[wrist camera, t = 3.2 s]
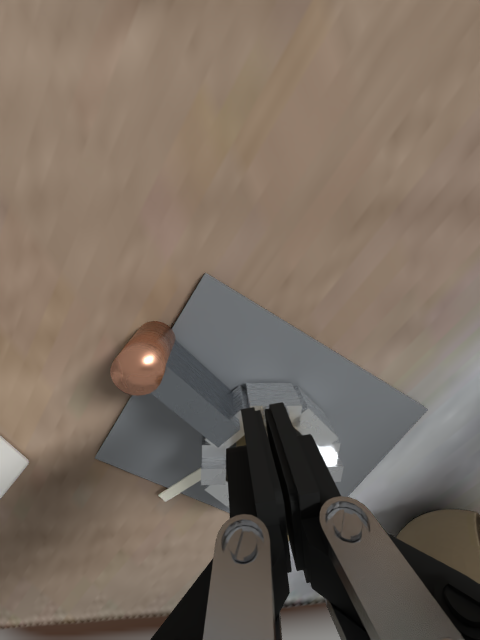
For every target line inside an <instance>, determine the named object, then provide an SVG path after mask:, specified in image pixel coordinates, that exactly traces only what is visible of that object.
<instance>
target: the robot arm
mask: <svg viewBox="0 0 480 640" xmlns="http://www.w3.org/2000/svg"><path fill="white" fill-rule="evenodd" d="M241 415H242V421H243V428H244V434H245V441H246V445H244V446H238V447H232V448H227V449H226V460H227V477H228V494H229V511H230V519H229V520H227V521H226V522H225V523H224V524H223V525H222V527H221V529H220V530H219V532H218V534H217V538H216V542H215V550H214V557H213V559H212V560H211V562H210V563H209V564H208V566H207V567H206V568H205V570H204V571H203V572H202V573H201V575H200V576H199V577H198V579H197V580H196V581H195V583H194V584H193V585H192V586H191V588H190V589H189V590H188V592H187V593H186V594H185V596H184V597H183V598H182V599H181V601H180V602H179V603H178V605H177V606H176V607H175V609H174V610H173V611H172V612H171V614H170V615H169V616H168V618H167V619H166V620H165V622H164V623H163V624H162V625H161V627H160V628H159V629H158V631H157V632H156V633H155V634H154V636H153V637H152V638H151V640H282V633H281V616H280V610H281V608H282V606H283V604H284V602H285V600H286V599H287V597H288V595H289V593H290V592H289V584H288V575H287V573H289V572H292V570H291V561H290V552H289V543H288V537H289V541H290V545H291V549H292V553H293V557H294V562H295V566H296V569H297V571H299V570H304V574H305V578H306V582H307V583H311V586H312V589H314V590H315V591H316V592H318V593H319V594H320V595H322V596H323V597H324V598H325V602H326V605H327V608H328V610H329V612H330V615H331V617H332V620H333V622H334V624H335V626H336V629H337V631H338V634H339V636H340V638H341V640H480V584H479V583H477V582H476V581H474V580H473V579H471V578H470V577H468V576H466V575H464V574H463V573H461V572H459V571H457V570H455V569H453V568H451V567H449V566H448V565H446V564H444V563H442V562H440V561H438V560H436V559H435V558H433V557H431V556H429V555H427V554H425V553H423V552H421V551H420V550H418V549H416V548H414V547H412V546H410V545H408V544H406V543H405V542H403V541H401V540H399V539H397V538H395V537H393V536H392V535H390V534H388V533H386V532H385V531H384V529H383V528H382V527H381V525H380V524H379V522H378V521H377V520H376V518H375V517H374V516H373V514H372V513H371V512H370V511H369V510H368V508H367V507H366V506H365V505H363V504H362V503H360V502H359V501H357V500H355V499H352V498H350V497H343V496H341V495H340V492H339V490H338V488H337V486H336V484H335V482H334V480H333V478H332V476H331V474H330V472H329V470H328V467H327V465H326V463H325V461H324V459H323V457H322V455H321V453H320V451H319V449H318V447H317V445H316V443H315V440H314V438H313V437H312V435H311V434H307V435H301V436H297V435H296V432H295V430H294V427H293V425H292V423H291V420H290V418H289V415H288V413H287V410H286V408H285V405H284V403H283V402H281V403H275V404H269V409H265V419H266V427H267V433H266V429H265V425H264V422H263V418H262V414H261V410H257V411H255V408H254V407H251V408H245V409H241ZM267 435H268V437H267ZM287 533H288V534H287Z"/></svg>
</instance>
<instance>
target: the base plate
mask: <svg viewBox="0 0 480 640" xmlns="http://www.w3.org/2000/svg"><path fill="white" fill-rule="evenodd" d="M172 331H173V332H174V335H175V339H176V341H177V342H179V343H180V344H181V345H182V346H183V347H184V348H185V349H186V350H187V351H188V352H190V353H191V354H192V355H193V356H194V357H195V358H196V359H197V360H198V361H199V362H201V363H202V364H203V365H204V366H205V367H206V368H207V369H208V370H209V371H210V372H212V373H213V374H214V375H215V376H216V377H217V378H218V379H219V380H220V381H221V382H223V383H224V384H225V385H226V386H227V387H228V388H229V389H230V390H231V391H234V390H235V389H236V388H237V387H238V386H239V385H240V386H241V387H243V388H244V389H245V390H246V383H292V385H293V387H296V386H298V387H299V388H300V389H301V390H302V391H303V392H304V393H305V394H306V395H307V396H308V397H309V398H310V399H311V400H312V401H313V402H314V403H315V404H316V405H317V406H318V407H319V408H320V409H321V410H322V411H323V412H324V413H325V415H326V416H327V418H328V420H329V422H330V424H331V425H332V427H333V429H334V431H335V432H336V434H337V436H338V438H339V439H338V440H339V442H340V448H339V454H338V456H339V458H340V460H341V462H342V464H343V466H344V468H343V473H342V478H341V482H335V484H336V486H337V488H338V490H339V492H340V495H341V496H343V497H348V496H349V495H350V494H351V492H352V491H353V490H354V489H355V488H356V487H357V486H358V485H359V484H360V483H361V482H362V481H363V480H364V478H365V477H366V476H367V475H368V474H369V473H370V472H371V471H372V470H373V469H374V468H375V467H376V465H377V464H378V463H379V462H380V461H381V460H382V459H383V458H384V457H385V456H386V455H387V454H388V452H389V451H390V450H391V449H392V448H393V447H394V446H395V445H396V444H397V443H398V442H399V441H400V439H401V438H402V437H403V436H404V435H405V434H406V433H407V432H408V431H409V430H410V429H411V428H412V426H413V425H414V424H415V423H416V422H417V421H418V420H419V419H420V418H421V417H422V416H423V415H424V413H425V412H426V411H427V410H428V409H427V408H425V407H424V406H423V405H421V404H420V403H418V402H417V401H415V400H413V399H412V398H410V397H408V396H407V395H405V394H403V393H402V392H400V391H399V390H397V389H395V388H394V387H392V386H390V385H389V384H387V383H385V382H384V381H382V380H381V379H379V378H377V377H376V376H374V375H372V374H371V373H369V372H367V371H366V370H364V369H363V368H361V367H359V366H358V365H356V364H354V363H353V362H351V361H349V360H348V359H346V358H345V357H343V356H341V355H340V354H338V353H336V352H335V351H333V350H331V349H330V348H328V347H327V346H325V345H323V344H322V343H320V342H318V341H317V340H315V339H313V338H312V337H310V336H309V335H307V334H305V333H304V332H302V331H300V330H299V329H297V328H295V327H294V326H292V325H291V324H289V323H287V322H286V321H284V320H282V319H281V318H279V317H277V316H276V315H274V314H273V313H271V312H269V311H268V310H266V309H264V308H263V307H261V306H259V305H258V304H256V303H255V302H253V301H251V300H250V299H248V298H246V297H245V296H243V295H241V294H240V293H238V292H237V291H235V290H233V289H232V288H230V287H228V286H227V285H225V284H223V283H222V282H220V281H219V280H217V279H215V278H214V277H212V276H210V275H209V274H207V273H205V274H204V276H203V277H202V279H201V281H200V282H199V284H198V286H197V287H196V289H195V291H194V292H193V294H192V296H191V297H190V299H189V301H188V302H187V304H186V306H185V307H184V309H183V311H182V312H181V314H180V316H179V317H178V319H177V321H176V322H175V324H174V326H173V327H172ZM294 430H295V432H296V435H297V436H301V435H302V434H301V433H300V432H299V431H298V430H296V429H295V428H294ZM202 439H203V435H202V434H201V433H199V432H198V431H197V430H196V429H194V428H193V427H192V426H191V425H189V424H188V423H187V422H186V421H185V420H183V419H182V418H181V417H180V416H178V415H177V414H176V413H175V412H174V411H172V410H171V409H170V408H169V407H167V406H166V405H165V404H164V403H162V402H161V401H160V400H159V399H158V398H156V397H155V396H154V395H153V394H151V393H149V394H146V395H141V396H136V395H132V396H131V398H130V399H129V401H128V403H127V404H126V406H125V408H124V409H123V411H122V413H121V414H120V416H119V418H118V419H117V421H116V423H115V424H114V426H113V428H112V429H111V431H110V433H109V434H108V436H107V438H106V439H105V441H104V443H103V444H102V446H101V448H100V449H99V451H98V453H97V455H96V456H95V459H98V460H100V461H103V462H105V463H108V464H110V465H113V466H115V467H117V468H120V469H122V470H125V471H127V472H130V473H132V474H135V475H137V476H140V477H142V478H145V479H147V480H150V481H152V482H154V483H157V484H159V485H162V486H164V487H167V488H168V489H166V490H164V491H163V492H161V493H160V494H158V496H159V497H160V498H162V499H163V500H164V501H165V502H166V501H168V500H170V499H171V498H173V497H174V496H176V495H178V494H179V493H182V494H184V495H187V496H189V497H191V498H194V499H196V500H199V501H201V502H204V503H206V504H209V505H211V506H214V507H216V508H219V509H221V510H223V511H226V512H228V513H230V511H229V508H228V507H227V506H225V505H224V504H223V503H221V502H220V501H219V500H217V499H216V498H215V497H213V496H212V495H211V494H209V493H208V492H207V491H205V490H204V488H205V485H201V464H202ZM244 445H246V441H245V435H244V436H243V437H242V438H240V439H239V440H238V441H237V442H235V443H234V444H233V445H232V446H230V447H229V448H232V447H238V446H244ZM287 534H288V533H287ZM288 541H289V537H288Z"/></svg>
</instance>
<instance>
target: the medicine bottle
mask: <svg viewBox="0 0 480 640" xmlns="http://www.w3.org/2000/svg"><path fill="white" fill-rule="evenodd" d="M28 464H29V460H28V459H27V458H26V457H25V456H24V455H23V454H21V453H20V452H19V451H18V450H17V449H16V448H14V447H13V446H12V445H11V444H10V443H9V442H7V441H6V440H5V439H4V438H3V437H2V436H1V435H0V499H1V498H2V496H3V495H4V494H5V493H6V492H7V490H8V489H9V488H10V487H11V485H12V484H13V483H14V482H15V480H16V479H17V478H18V477H19V475H20V474H21V473H22V472H23V470H24V469H25V468H26V467H27V465H28Z"/></svg>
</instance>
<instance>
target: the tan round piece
mask: <svg viewBox="0 0 480 640" xmlns="http://www.w3.org/2000/svg"><path fill="white" fill-rule="evenodd" d="M396 538H397V539H399V540H401V541H403V542H405V543H406V544H408V545H410V546H412V547H414V548H416V549H418V550H420V551H421V552H423V553H425V554H427V555H429V556H431V557H433V558H435V559H436V560H438V561H440V562H442V563H444V564H446V565H448V566H449V567H451V568H453V569H455V570H457V571H459V572H461V573H463V574H464V575H466V576H468V577H470V578H471V579H473V580H474V581H476V582H477V583H479V584H480V515H479V514H478V513H477V512H473V511H467V510H459V509H443V510H437V511H432V512H428V513H426V514H423V515H421V516H419V517H417V518H415V519H413V520H412V521H411V522H409V523H408V524H407V525H406V526H405V527H404V528H403V529H402V530H401V531H400V532H399V534H398V535H397V537H396Z"/></svg>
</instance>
